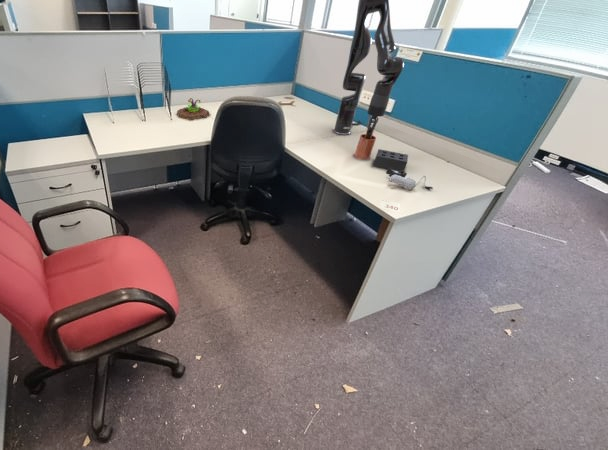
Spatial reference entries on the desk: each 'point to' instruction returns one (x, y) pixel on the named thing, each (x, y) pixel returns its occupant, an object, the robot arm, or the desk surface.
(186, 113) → the plant
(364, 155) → the pen cup
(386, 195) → the desk surface
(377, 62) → the robot arm
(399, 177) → the clip-on lamp
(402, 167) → the holder
